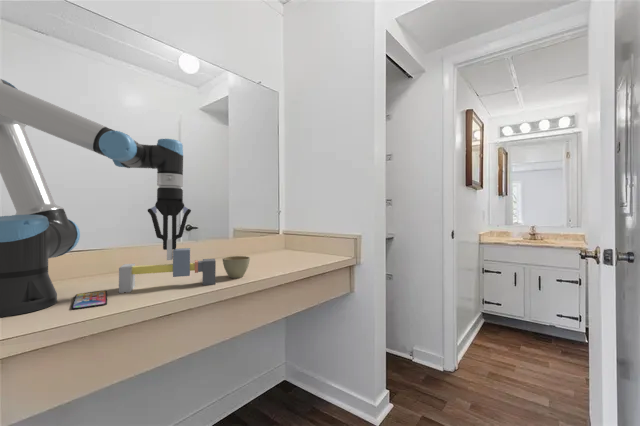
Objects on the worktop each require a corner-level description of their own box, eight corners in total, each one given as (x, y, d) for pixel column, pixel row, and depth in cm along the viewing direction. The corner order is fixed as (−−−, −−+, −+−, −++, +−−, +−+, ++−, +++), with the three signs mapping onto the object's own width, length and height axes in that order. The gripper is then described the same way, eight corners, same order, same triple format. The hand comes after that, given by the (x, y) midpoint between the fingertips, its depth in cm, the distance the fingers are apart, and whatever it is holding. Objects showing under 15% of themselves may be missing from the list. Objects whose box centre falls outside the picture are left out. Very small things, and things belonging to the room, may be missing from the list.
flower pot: (242, 280, 107) (242, 260, 107) (217, 278, 109) (217, 259, 109) (254, 274, 117) (254, 256, 117) (230, 273, 119) (230, 255, 119)
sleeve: (172, 277, 96) (172, 250, 96) (173, 273, 101) (174, 248, 101) (189, 275, 98) (189, 250, 98) (190, 272, 103) (190, 248, 103)
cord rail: (118, 293, 90) (118, 266, 90) (124, 287, 96) (124, 262, 96) (215, 285, 100) (215, 261, 100) (214, 280, 107) (214, 258, 107)
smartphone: (70, 308, 74) (75, 294, 87) (70, 312, 74) (75, 297, 87) (107, 303, 79) (106, 290, 91) (107, 307, 79) (106, 293, 91)
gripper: (145, 186, 92) (145, 262, 92) (191, 187, 97) (191, 260, 97) (149, 187, 99) (148, 258, 99) (192, 189, 104) (191, 256, 104)
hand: (169, 259), depth 98 cm, fingers closed
